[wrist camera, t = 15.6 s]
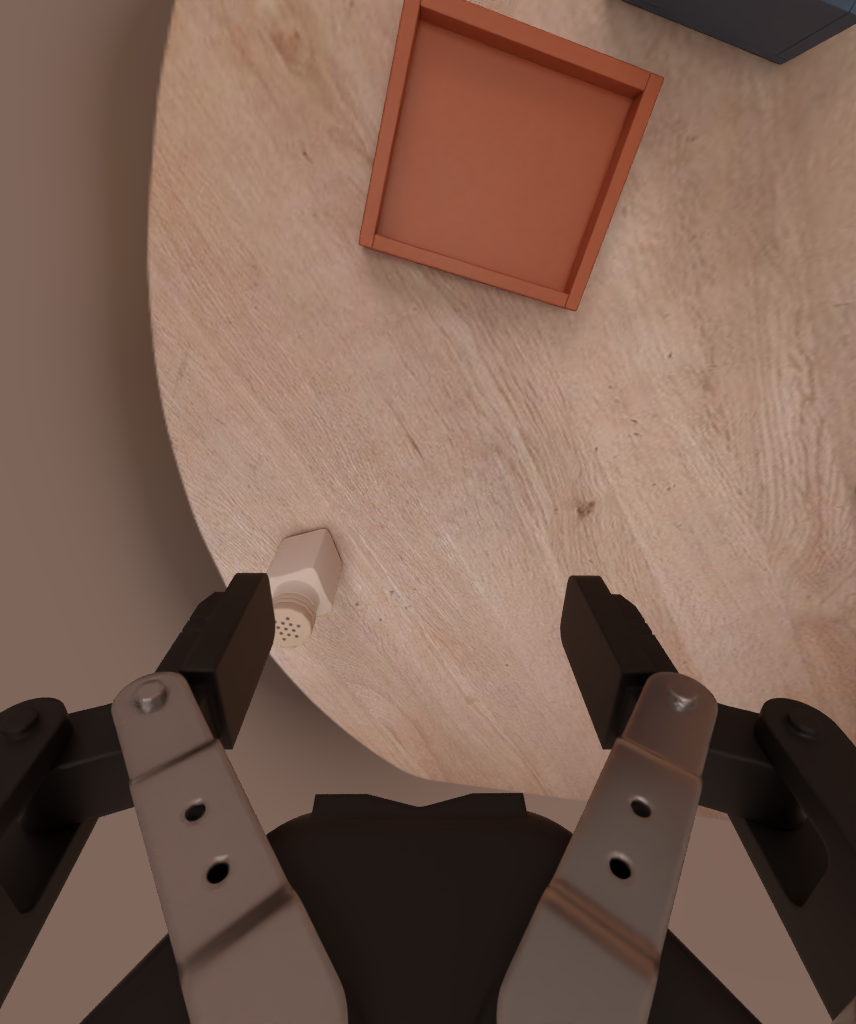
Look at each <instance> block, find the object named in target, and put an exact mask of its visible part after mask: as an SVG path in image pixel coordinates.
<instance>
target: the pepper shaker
mask: <svg viewBox="0 0 856 1024" xmlns="http://www.w3.org/2000/svg"><path fill="white" fill-rule="evenodd" d="M341 571H342V562H341V560H340V557H339V555H338V552H337V550H336V548H335V545H334V543H333V540H332V538H331V536H330V534H329V532H328V531H327V530H326V529H320V530H316V531H312V532H308V533H304V534H300V535H296V536H293V537H289V538H286V539H285V540H283V541H282V542H281V544H280V546H279V548H278V550H277V552H276V554H275V557H274V559H273V561H272V563H271V565H270V567H269V569H268V571H267V573H266V574H267V575H268V577H269V581H270V588H271V595H272V602H273V608H274V615H275V637H274V641H273V644H275V645H277V646H280V647H282V648H292V647H297V646H299V645H301V644H303V643H305V642H307V640H308V638H309V637H310V635H311V633H312V630H313V626H314V623H315V619H316V617H318V616H321V615H324V614H326V613H328V612H329V611H330V610H331V609H332V607H333V603H334V599H335V595H336V591H337V587H338V583H339V579H340V575H341Z"/></svg>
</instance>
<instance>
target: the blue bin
mask: <svg viewBox="0 0 856 1024" xmlns="http://www.w3.org/2000/svg"><path fill="white" fill-rule="evenodd" d="M624 1H626V2H628V3H631V4H633V5H636V6H638V7H641V8H643V9H646V10H648V11H651V12H653V13H656V14H658V15H661V16H663V17H665V18H668V19H670V20H673V21H675V22H678V23H680V24H683V25H685V26H688V27H690V28H693V29H695V30H698V31H700V32H702V33H705V34H707V35H710V36H712V37H715V38H717V39H720V40H722V41H725V42H727V43H730V44H732V45H734V46H737V47H739V48H742V49H744V50H747V51H749V52H752V53H754V54H757V55H759V56H762V57H764V58H767V59H769V60H771V61H774V62H776V63H779V64H783V63H785V62H787V61H788V60H791V59H793V58H795V57H796V56H798V55H800V54H802V53H804V52H805V51H807V50H809V49H811V48H813V47H815V46H816V45H818V44H820V43H822V42H824V41H825V40H827V39H829V38H831V37H833V36H835V35H836V34H838V33H840V32H842V31H844V30H845V29H847V28H849V27H851V26H853V25H854V24H856V0H624Z"/></svg>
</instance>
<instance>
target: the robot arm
mask: <svg viewBox="0 0 856 1024" xmlns="http://www.w3.org/2000/svg"><path fill="white" fill-rule="evenodd" d="M182 630H183V631H182V633H180V634H179V636H178V637H177V639H176V641H175V642H174V643H173V645H172V646H171V648H170V650H169V651H168V653H167V654H166V656H165V657H164V659H163V660H162V662H161V663H160V665H159V667H158V668H157V670H156V671H155V673H152V674H149V675H146V676H143V677H141V678H139V679H137V680H135V681H133V682H131V683H130V684H129V685H127V686H126V687H125V688H124V689H122V690H121V691H120V693H119V694H118V695H117V696H116V698H115V699H114V701H113V703H111V704H107V705H104V706H99V707H95V708H91V709H87V710H83V711H78V712H74V713H70V714H68V713H67V710H66V708H65V706H64V704H63V703H62V702H61V701H60V700H57V699H55V698H36V699H32V700H27V701H24V702H21V703H19V704H16V705H14V706H12V707H10V708H8V709H6V710H5V711H3V712H1V713H0V1008H1V1006H2V1004H3V1002H4V1000H5V998H6V996H7V994H8V993H9V991H10V989H11V987H12V985H13V983H14V981H15V979H16V977H17V975H18V973H19V971H20V969H21V967H22V965H23V963H24V961H25V960H26V958H27V956H28V954H29V952H30V950H31V948H32V946H33V944H34V942H35V940H36V938H37V936H38V934H39V932H40V930H41V929H42V927H43V925H44V923H45V921H46V919H47V917H48V915H49V913H50V911H51V909H52V907H53V905H54V903H55V901H56V900H57V898H58V896H59V894H60V891H61V890H62V888H63V886H64V884H65V882H66V880H67V878H68V876H69V874H70V872H71V870H72V868H73V867H74V864H75V863H76V861H77V859H78V857H79V855H80V853H81V851H82V849H83V847H84V845H85V843H86V841H87V839H88V838H89V836H90V834H91V832H92V830H93V828H94V826H95V824H96V822H97V820H98V818H99V817H102V816H105V815H109V814H112V813H115V812H118V811H121V810H125V809H128V808H132V807H135V810H136V813H137V817H138V821H139V825H140V829H141V832H142V836H143V840H144V843H145V847H146V851H147V855H148V858H149V862H150V866H151V870H152V873H153V877H154V881H155V884H156V888H157V892H158V896H159V899H160V903H161V906H162V911H163V914H164V918H165V922H166V925H167V929H168V934H167V935H166V936H165V937H164V938H163V939H162V940H161V941H160V942H159V943H158V944H157V945H156V946H155V947H154V948H153V949H152V950H151V951H150V952H149V953H148V954H147V955H146V956H145V957H144V958H143V959H142V960H141V961H140V962H139V963H138V964H137V965H136V966H135V967H134V968H133V969H132V970H131V971H130V972H129V973H128V974H127V976H125V978H124V979H123V980H122V981H121V982H120V983H119V984H118V985H117V986H116V987H115V988H114V989H113V990H112V991H111V992H110V993H109V994H108V995H107V996H106V997H105V998H104V999H103V1000H102V1001H101V1002H100V1003H99V1004H98V1005H97V1006H96V1007H95V1008H94V1009H93V1010H92V1012H90V1013H89V1014H88V1016H86V1017H85V1018H84V1020H83V1021H82V1022H81V1023H80V1024H762V1023H761V1022H760V1021H759V1020H758V1019H757V1018H756V1017H755V1016H754V1015H753V1014H752V1013H751V1012H750V1011H749V1010H748V1009H747V1008H746V1007H745V1006H744V1005H743V1004H742V1003H741V1002H740V1001H739V1000H738V999H737V998H736V997H735V996H734V995H733V994H732V993H731V992H730V991H729V990H728V989H727V988H726V987H725V986H724V984H722V982H721V981H720V980H719V979H718V978H717V977H716V976H715V975H714V974H713V973H712V972H711V971H710V970H709V969H708V968H707V967H706V966H705V965H704V964H703V963H702V962H701V961H700V960H699V959H698V958H697V957H696V956H695V955H694V954H693V953H692V952H691V951H690V950H689V949H688V948H687V947H686V946H685V945H684V944H683V943H682V942H681V941H680V940H679V939H678V938H677V937H676V936H675V935H674V934H673V933H672V932H671V931H670V930H669V929H668V924H669V920H670V916H671V912H672V908H673V904H674V900H675V895H676V892H677V888H678V884H679V880H680V876H681V871H682V867H683V863H684V859H685V855H686V851H687V847H688V843H689V839H690V835H691V831H692V827H693V823H694V819H695V815H696V811H697V807H698V805H700V806H704V807H707V808H710V809H714V810H717V811H721V812H724V813H727V814H728V816H729V818H730V820H731V822H732V824H733V825H734V828H735V830H736V831H737V833H738V835H739V837H740V839H741V841H742V843H743V845H744V847H745V849H746V851H747V853H748V855H749V857H750V859H751V861H752V863H753V865H754V867H755V869H756V871H757V873H758V875H759V877H760V879H761V881H762V883H763V885H764V887H765V889H766V891H767V893H768V895H769V896H770V899H771V901H772V903H773V904H774V906H775V908H776V910H777V912H778V914H779V916H780V918H781V920H782V922H783V924H784V926H785V928H786V930H787V932H788V934H789V936H790V938H791V940H792V942H793V944H794V946H795V948H796V950H797V952H798V954H799V956H800V958H801V960H802V962H803V964H804V965H805V968H806V970H807V971H808V973H809V975H810V977H811V979H812V981H813V983H814V985H815V987H816V989H817V991H818V993H819V995H820V997H821V999H822V1001H823V1003H824V1005H825V1007H826V1009H827V1011H828V1013H829V1015H830V1017H831V1019H832V1021H833V1022H832V1023H831V1024H856V747H855V745H854V744H853V743H852V742H851V741H850V740H849V738H848V737H847V736H846V735H845V734H844V732H843V731H842V730H841V729H840V728H839V727H838V726H837V725H836V723H835V722H834V721H832V720H831V719H830V718H829V717H828V716H826V715H825V714H823V713H822V712H820V711H819V710H817V709H815V708H813V707H811V706H809V705H807V704H804V703H802V702H799V701H796V700H792V699H786V698H775V699H770V700H768V701H767V702H765V703H764V705H763V707H762V709H761V711H760V713H755V712H751V711H747V710H743V709H738V708H734V707H730V706H726V705H723V704H719V703H717V701H716V699H715V698H714V696H713V694H712V693H711V692H710V691H709V690H708V689H707V688H706V687H705V686H703V685H702V684H701V683H699V682H698V681H696V680H694V679H692V678H690V677H688V676H685V675H683V674H679V673H678V671H677V670H676V668H675V667H674V665H673V663H672V662H671V660H670V659H669V657H668V656H667V654H666V653H665V651H664V649H663V648H662V646H661V645H660V643H659V642H658V640H657V639H656V637H655V636H654V635H652V631H651V629H650V628H649V626H648V625H647V623H645V620H644V618H643V617H642V615H641V614H640V612H639V611H638V609H637V608H636V606H634V605H633V604H632V603H631V602H629V601H628V600H627V599H625V598H624V597H623V596H622V595H620V594H611V593H610V591H609V590H608V588H607V586H606V584H605V583H604V581H603V579H602V578H601V577H600V576H570V577H569V579H568V583H567V588H566V594H565V600H564V606H563V611H562V617H561V625H560V632H561V640H562V644H563V647H564V650H565V652H566V655H567V658H568V660H569V663H570V665H571V668H572V671H573V673H574V676H575V678H576V681H577V684H578V686H579V689H580V691H581V694H582V697H583V699H584V702H585V704H586V707H587V709H588V712H589V715H590V717H591V720H592V722H593V725H594V728H595V730H596V733H597V735H598V738H599V741H600V743H601V746H602V748H603V749H612V750H611V752H610V754H609V756H608V759H607V761H606V763H605V765H604V767H603V770H602V772H601V774H600V776H599V778H598V780H597V783H596V785H595V787H594V789H593V791H592V794H591V796H590V798H589V800H588V802H587V805H586V807H585V809H584V811H583V814H582V816H581V818H580V820H579V822H578V824H577V826H576V829H575V831H574V833H573V834H572V833H571V832H570V831H568V830H567V829H565V828H564V827H562V826H561V825H559V824H558V823H555V822H554V821H552V820H550V819H548V818H546V817H543V816H541V815H538V814H536V813H532V812H529V811H526V806H525V801H524V796H523V793H479V794H478V793H473V794H469V795H465V796H462V797H457V798H454V799H450V800H446V801H443V802H439V803H436V804H432V805H428V806H424V807H416V806H412V805H408V804H403V803H400V802H396V801H392V800H388V799H384V798H380V797H376V796H372V795H368V794H316V795H315V801H314V806H313V811H312V813H308V814H305V815H302V816H299V817H297V818H294V819H292V820H290V821H288V822H286V823H284V824H282V825H280V826H279V827H277V828H276V829H274V830H273V831H271V832H270V833H268V834H267V835H265V833H264V831H263V829H262V826H261V824H260V823H259V820H258V818H257V816H256V814H255V812H254V810H253V808H252V806H251V804H250V802H249V800H248V797H247V795H246V793H245V791H244V789H243V787H242V785H241V783H240V781H239V779H238V777H237V775H236V773H235V771H234V768H233V766H232V764H231V762H230V760H229V758H228V756H227V754H226V752H225V750H224V749H233V747H234V744H235V741H236V739H237V736H238V734H239V731H240V728H241V726H242V723H243V721H244V718H245V715H246V713H247V710H248V707H249V705H250V702H251V699H252V697H253V694H254V692H255V689H256V687H257V684H258V681H259V678H260V676H261V674H262V671H263V668H264V666H265V663H266V661H267V658H268V655H269V653H270V650H271V647H272V645H273V641H274V637H275V615H274V608H273V602H272V595H271V588H270V581H269V577H268V575H267V574H266V573H236V574H235V576H234V577H233V579H232V581H231V582H230V584H229V586H228V587H227V589H226V591H225V592H214V593H213V594H212V595H210V596H209V597H208V598H206V599H205V600H204V601H202V602H201V603H200V604H199V605H198V606H197V608H196V609H195V611H194V613H193V614H192V616H191V617H190V621H188V622H187V623H186V625H185V626H184V628H183V629H182Z"/></svg>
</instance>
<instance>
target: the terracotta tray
mask: <svg viewBox="0 0 856 1024" xmlns="http://www.w3.org/2000/svg"><path fill="white" fill-rule="evenodd" d="M663 80H664V77H661V76H659V75H656V74H654V73H650V72H649V71H646V70H644V69H641V68H639V67H636V66H634V65H631V64H628V63H626V62H623V61H621V60H618V59H615V58H613V57H610V56H608V55H605V54H603V53H600V52H597V51H595V50H592V49H590V48H587V47H584V46H582V45H579V44H577V43H574V42H572V41H569V40H566V39H564V38H561V37H559V36H556V35H553V34H551V33H548V32H546V31H543V30H541V29H538V28H535V27H533V26H530V25H528V24H525V23H522V22H520V21H517V20H515V19H512V18H510V17H507V16H504V15H502V14H499V13H497V12H494V11H491V10H489V9H486V8H484V7H481V6H479V5H476V4H473V3H471V2H468V1H466V0H404V4H403V9H402V14H401V20H400V25H399V30H398V36H397V41H396V46H395V52H394V57H393V62H392V68H391V73H390V78H389V84H388V89H387V94H386V100H385V105H384V110H383V116H382V121H381V126H380V132H379V137H378V142H377V147H376V153H375V158H374V163H373V169H372V174H371V179H370V185H369V190H368V195H367V201H366V206H365V211H364V217H363V222H362V227H361V233H360V238H359V245H361V246H363V247H367V248H370V249H373V250H376V251H380V252H383V253H386V254H389V255H393V256H396V257H399V258H402V259H406V260H409V261H412V262H415V263H419V264H422V265H425V266H428V267H432V268H435V269H438V270H441V271H445V272H448V273H451V274H455V275H458V276H461V277H464V278H468V279H471V280H474V281H477V282H481V283H484V284H487V285H490V286H494V287H497V288H500V289H503V290H507V291H510V292H513V293H516V294H520V295H523V296H526V297H529V298H533V299H536V300H539V301H542V302H546V303H549V304H552V305H555V306H559V307H562V308H565V309H569V310H572V311H577V308H578V305H579V303H580V300H581V298H582V295H583V292H584V290H585V287H586V284H587V282H588V279H589V276H590V274H591V271H592V268H593V266H594V263H595V260H596V258H597V255H598V253H599V250H600V247H601V245H602V242H603V239H604V237H605V234H606V231H607V229H608V226H609V223H610V221H611V218H612V215H613V213H614V210H615V208H616V205H617V202H618V200H619V197H620V194H621V192H622V189H623V186H624V184H625V181H626V178H627V176H628V173H629V170H630V168H631V165H632V163H633V160H634V157H635V155H636V152H637V149H638V147H639V144H640V141H641V139H642V136H643V133H644V131H645V128H646V125H647V123H648V120H649V117H650V115H651V112H652V110H653V107H654V104H655V102H656V99H657V96H658V94H659V91H660V88H661V86H662V83H663Z"/></svg>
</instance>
